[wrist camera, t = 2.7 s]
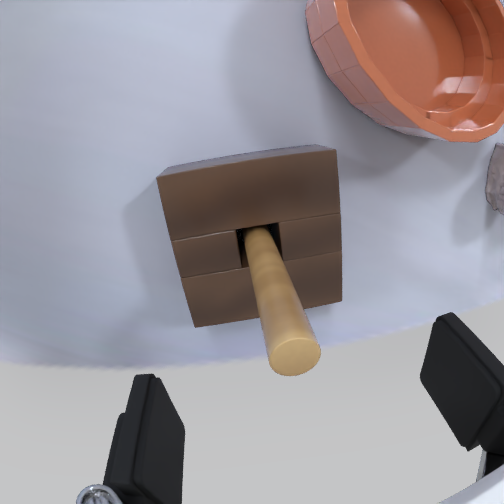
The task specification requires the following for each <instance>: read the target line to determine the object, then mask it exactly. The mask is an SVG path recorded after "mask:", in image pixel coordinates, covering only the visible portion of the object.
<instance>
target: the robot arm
mask: <svg viewBox="0 0 504 504" xmlns="http://www.w3.org/2000/svg"><path fill="white" fill-rule="evenodd" d="M420 379H421V382H422V384H423V386H424V387H425V389H426V390H427V392H428V393H429V395H430V396H431V398H432V400H433V401H434V403H435V404H436V406H437V407H438V409H439V411H440V412H441V414H442V415H443V417H444V419H445V420H446V422H447V423H448V425H449V427H450V428H451V430H452V432H453V433H454V435H455V437H456V438H457V440H458V442H459V443H460V445H461V446H463V447H466V449H467V451H470V450H472V449H473V448H475V447H477V446H479V444H480V445H481V447H482V448H483V450H482V456H481V461H480V466H479V470H478V475H477V479H476V482H475V483H474V484H472V485H470V486H469V487H467V488H465V489H464V490H462V491H460V492H459V493H457V494H455V495H453V496H451V497H449V498H447V499H445V500H444V501H442V502H439V503H438V504H504V365H503V364H502V363H501V362H500V361H499V360H498V359H497V358H496V356H495V355H494V354H493V353H492V352H491V351H490V350H489V349H488V348H487V347H486V346H485V345H484V344H483V343H482V342H481V340H480V339H479V338H478V337H477V336H476V335H475V334H474V333H473V332H472V331H471V330H470V329H469V328H468V327H467V326H466V325H465V324H464V323H463V322H462V321H461V320H460V319H459V318H458V317H457V316H456V315H455V314H454V313H452V312H450V313H447V314H444V315H441V316H439V317H437V319H436V322H434V323H433V327H432V331H431V335H430V339H429V343H428V347H427V351H426V355H425V359H424V363H423V366H422V369H421V373H420ZM184 442H185V429H184V425H183V422H182V421H181V419H180V417H179V415H178V413H177V411H176V409H175V407H174V405H173V403H172V402H171V399H170V397H169V395H168V393H167V391H166V389H165V387H164V385H163V383H162V381H161V379H160V378H156V377H155V375H154V374H141V375H136V376H135V377H134V380H133V385H132V388H131V392H130V395H129V399H128V404H127V407H126V411H125V413H121V414H120V415H119V418H118V420H117V424H116V428H115V432H114V436H113V441H112V445H111V449H110V454H109V458H108V462H107V467H106V471H105V476H104V481H103V485H100V484H97V485H91V486H88V487H86V488H85V489H83V490H82V491H81V492H80V494H79V495H78V497H77V500H76V504H182V481H183V480H182V479H183V459H184Z"/></svg>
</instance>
